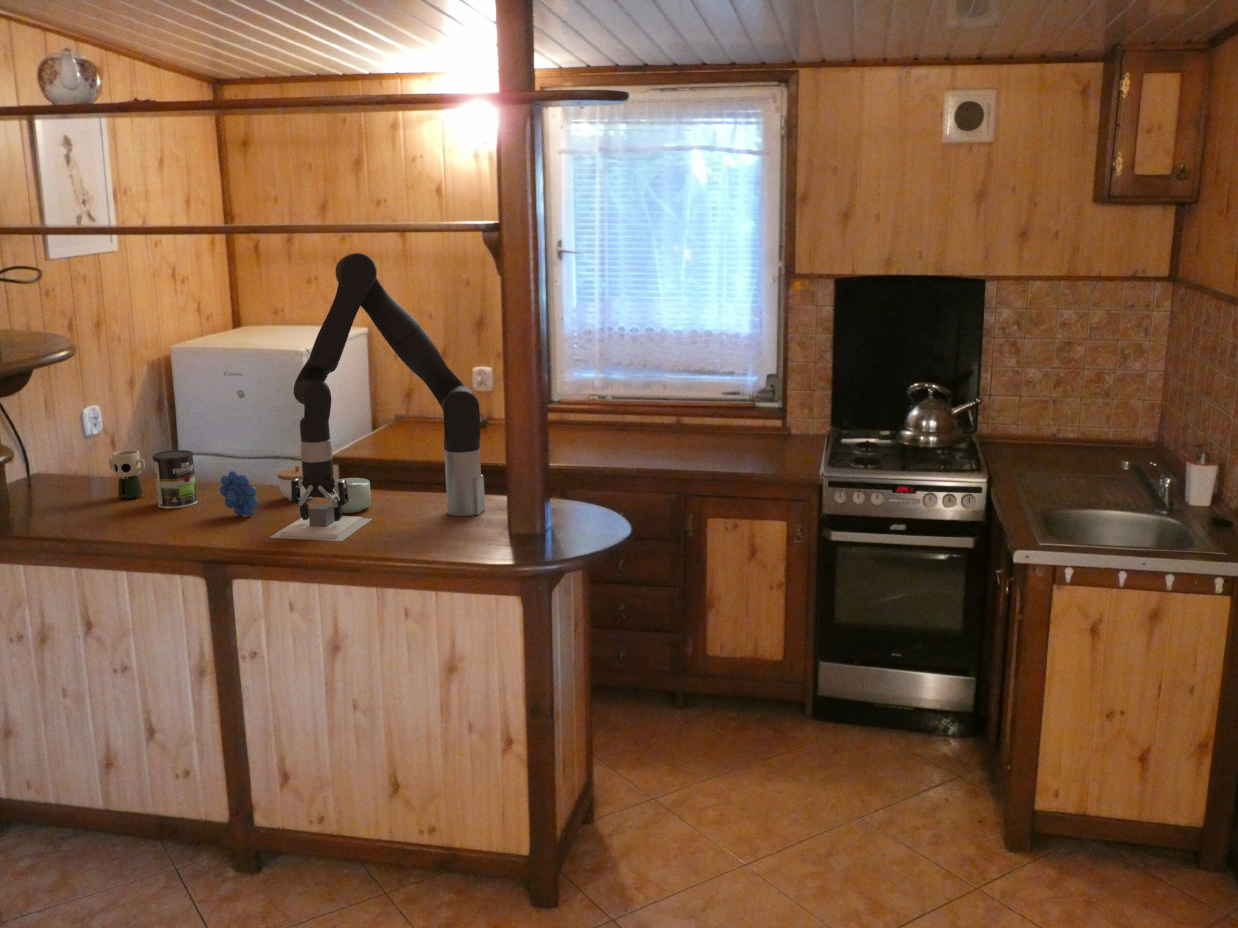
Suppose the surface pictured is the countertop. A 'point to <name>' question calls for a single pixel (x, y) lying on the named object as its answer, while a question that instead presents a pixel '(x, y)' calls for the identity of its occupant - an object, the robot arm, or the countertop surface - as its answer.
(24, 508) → the countertop surface
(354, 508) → the bowl
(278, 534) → the mat
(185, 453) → the coffee can
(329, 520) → the lid
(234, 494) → the grapes
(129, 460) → the character mug
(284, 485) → the lidded jar
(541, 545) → the countertop surface
